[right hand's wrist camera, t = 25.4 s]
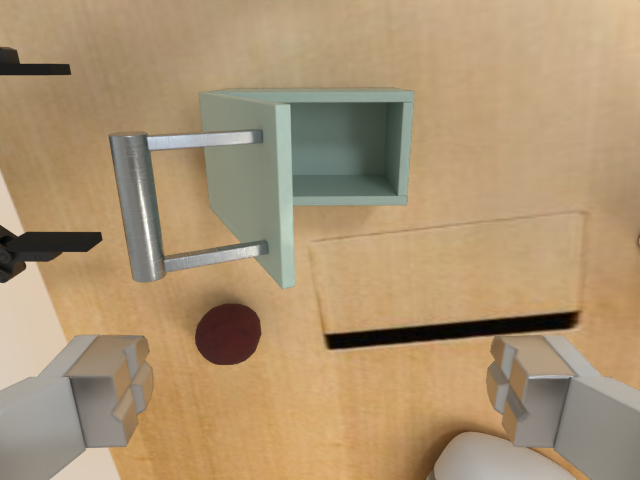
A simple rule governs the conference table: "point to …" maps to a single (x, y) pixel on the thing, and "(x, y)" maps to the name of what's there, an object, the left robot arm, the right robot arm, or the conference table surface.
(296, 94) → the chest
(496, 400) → the right robot arm
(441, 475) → the grey rounded piece
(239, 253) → the lid
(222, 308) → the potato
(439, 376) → the conference table surface
